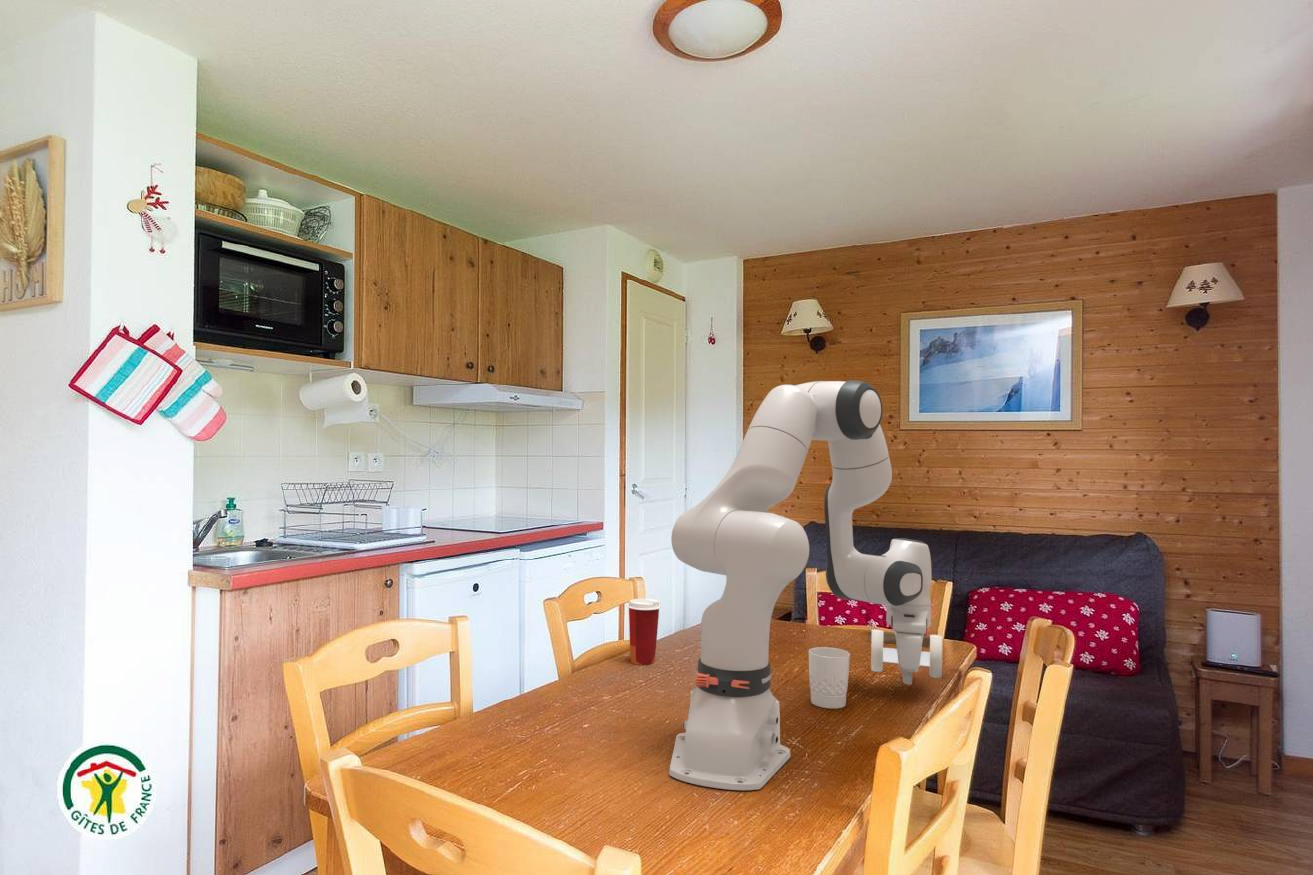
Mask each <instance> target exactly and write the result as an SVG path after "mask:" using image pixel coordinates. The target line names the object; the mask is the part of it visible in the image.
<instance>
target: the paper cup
mask: <svg viewBox="0 0 1313 875" xmlns="http://www.w3.org/2000/svg"><path fill="white" fill-rule="evenodd" d="M626 606H627V608H628V621H629V622H628V626H629V654H630V658H629V660H630V663H631V664H632V665H635V666H637V665H638V666H650V665H653V664H654V663H655V660H656V654H657V652H656V651H657V643H658V642H657V640H658V631H659V630H658V626H659V615H660V609H661V607H662V606H661V605H660V601H659V600H657V599H655V598H647V597H646V598H641V597H640V598H633V599H630V601H629V602H628V604H627V605H626Z"/></svg>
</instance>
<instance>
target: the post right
mask: <svg viewBox="0 0 1313 875" xmlns="http://www.w3.org/2000/svg"><path fill="white" fill-rule="evenodd" d="M929 636H930V647H929V652H930V667H929V673H928V674H929V677H930V678H932V677H933V679H942V677H943V635H939V634H930V635H929Z"/></svg>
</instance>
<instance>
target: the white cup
mask: <svg viewBox="0 0 1313 875" xmlns="http://www.w3.org/2000/svg"><path fill="white" fill-rule="evenodd" d="M850 653H851V652H848V650H845V649H841V648H838V647H837V648H836V647H828V646H820V647H819V646H817V647H812V648H809V649H808V672H809V673H808V674H809V675H808V676H809V689H810V703H811V704H812V705H813V706H816V707H819V708H822V709H828V710H829V709H830V710H831V709H834V710H836V709H842V708H844V707H846V703H847V692H848V685H849V676H850V675H849V674H850V658H851V656H850V655H851V654H850Z"/></svg>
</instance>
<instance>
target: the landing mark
mask: <svg viewBox="0 0 1313 875" xmlns="http://www.w3.org/2000/svg"><path fill="white" fill-rule="evenodd" d="M883 663H887V664H889V663H890V664H898V654H897V648H895V647H894V648H893V647H883ZM898 665H899V664H898ZM919 667H927V668H930V651H922V650H921V658H920V665H919Z"/></svg>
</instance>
